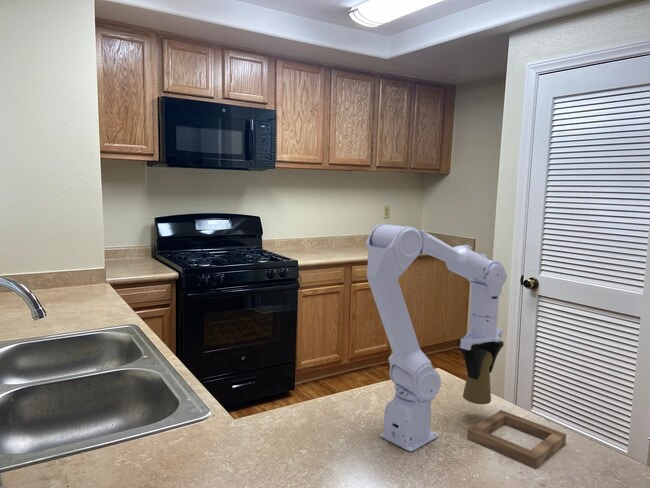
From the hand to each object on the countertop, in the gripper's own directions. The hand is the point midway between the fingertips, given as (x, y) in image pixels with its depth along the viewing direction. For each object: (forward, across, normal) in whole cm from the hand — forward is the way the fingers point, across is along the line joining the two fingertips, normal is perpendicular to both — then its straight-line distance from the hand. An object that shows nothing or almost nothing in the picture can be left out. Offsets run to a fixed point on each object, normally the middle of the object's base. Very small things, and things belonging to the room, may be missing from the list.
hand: (479, 374), depth 105 cm
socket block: (+10, -2, -10) cm, 15 cm away
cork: (+6, 0, 0) cm, 6 cm away
